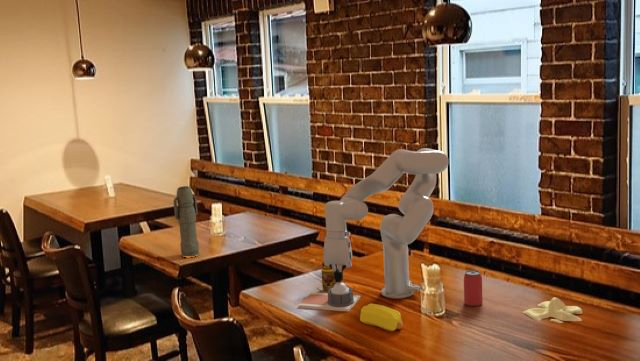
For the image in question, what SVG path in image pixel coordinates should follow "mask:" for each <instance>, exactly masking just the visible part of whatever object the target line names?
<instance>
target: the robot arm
mask: <svg viewBox="0 0 640 361" xmlns="http://www.w3.org/2000/svg"><path fill="white" fill-rule="evenodd" d="M448 166H449V157H448V155H447V154H446V153H444V152H443V151H441V150H437V149H432V148H428V147H426V148H425V147H424V148H419V149H417V151H413V150H412V151H411V150H407V149H402V148H401V149H396V150H395V151H393V152H392V153H391V154H390V155H388V157H387V158H386V159H385V160H383V162H382V164H380V165H379V166H378V168H376V169H375V171H373V172H372V174H370V175H368V176H366V177H364V178H363V179H362V180H360V181H359V182H357V183H355V184H354V185H353V186H352V187H351V188H349V189H348V190H347V191H346V192H345V194H344V195H342V197H341V198H340V199H339V200H331V201H330V200H329V201H328V202H326V203H325V205H324V212H325V229H326V232H325V233H326V236H325V238H324V243H323V245H324V246H323V262H325V263H324V265H325V266H328V267H330V268H331V269H332V270H333V272H334V279H335V282H337V283H338V282H339V283H340V282H342V281H343V279H344V270H345V269H347V268H352V266H353V264H352V261H353V251H352V250H353V249H352V245H351V239H350V236H351V231H348V229H347V221H360V220H362V219H364V218H365V217H366V216H367V215H368V213H369V208H368V205H367V203H365V202H364V201H365V200H367V199H368V198H369V197H371V196H373V195H376V194H380V193H383V192H386V191H388V190H390V189H391V188H392V186H394V185H395V183H396V182H397V181H398V180H399V179H400V178H401V177H402V176H403V175H404V174H408V175H415V177H414V179H413V181H412V183H411V184H409V187H408V188H407V189H406V191H405V192H404V194H403V195H402V196H401V198H400V199H399V202H398V205H397V206H398V210H399V211H400V212H401V213H402V214H403V215H404V216H402V215H399V214H396V213H390V214H387V215H385V216H384V217H383V218H382V220H381V221H380V228H379V230H380V236H381V241H382V247H383V248H382V250H383V252H382V253H383V271H384V272H383V273H384V287H383V288H382V289H381V295H382V296H383V297H385V298H388V299H406V298H409V297H411V296H413V295H414V292H420V291H421V286H420V285H419V284H413V283H412V280H410V270H409V269H410V268H409V247H408V245H411V244H412V243H413V242H414V241H415V240H416V239H417V238H418V237H419V235H420V234H421V232H422V231H423V229H424V228H425V227H426V226H427V224H428V223H429V221H430V220H431V219H432V216H433V214H434V203H433V201H432V199H431V198H430V196H431V195H432V193H433V191H434V190H435V188H436V184H437V174H440V173H443V172H445V171H446V169H447V168H448Z"/></svg>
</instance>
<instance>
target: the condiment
mask: <svg viewBox="0 0 640 361" xmlns="http://www.w3.org/2000/svg"><path fill="white" fill-rule="evenodd" d="M324 263H325V262H324V261H323V262H321V287H317V289H318V290H320V291H321V293H328V290H329V289H330V288H333V287H334V285H335V284H336V283H338V282H335V279H334V272H333V270H332V269H331V268H330V267H328V266H325V265H324Z"/></svg>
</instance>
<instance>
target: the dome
mask: <svg viewBox="0 0 640 361" xmlns="http://www.w3.org/2000/svg"><path fill="white" fill-rule="evenodd" d="M348 287H349V286H347V285H346V284H345V283H344V282H342V281H341V282H340V283H339V282H337V283H336V284H335V285H334V287H333V288H332V289H331V293H332V294H340V295H341V294H346V293H349V288H350V287H349V288H348Z"/></svg>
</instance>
